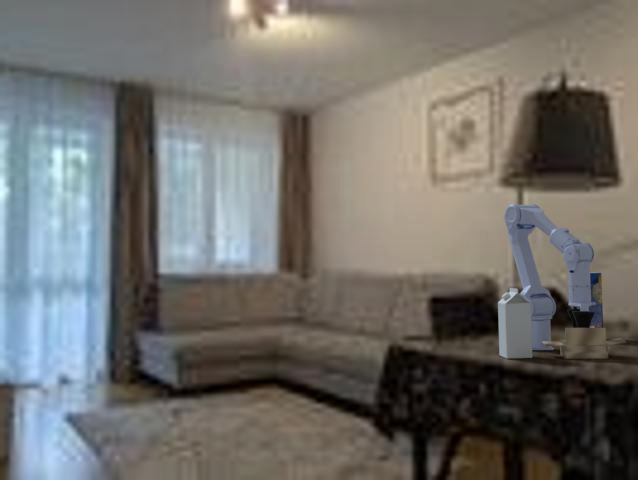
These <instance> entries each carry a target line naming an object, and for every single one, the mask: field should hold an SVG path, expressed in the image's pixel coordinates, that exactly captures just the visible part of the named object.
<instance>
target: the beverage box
mask: <svg viewBox="0 0 638 480" xmlns="http://www.w3.org/2000/svg"><path fill="white" fill-rule="evenodd" d="M602 277H603V276H602V272H594V271H593V272H591V271H590V285H591V286H590V287H591V302H595V303H596V305H591V306H589V311H588V312H595V314H594V316H593V318H592V320H591V323H590V328H604V315H603V314H604V313H603V285H602V281H603V280H602Z"/></svg>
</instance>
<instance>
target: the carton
mask: <svg viewBox="0 0 638 480" xmlns="http://www.w3.org/2000/svg"><path fill="white" fill-rule="evenodd" d="M542 343H543V344H544V345H545V346H552V347H560V348H559V349H560V350H559V351H560V356H561V358H563V359H564V360H609V347H608V346H609V345H607V344H606V345H566V338H564V339H561V338H560V339H558V341H557V340H556V341H552V340H551V341H542Z"/></svg>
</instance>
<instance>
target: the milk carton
mask: <svg viewBox="0 0 638 480" xmlns="http://www.w3.org/2000/svg"><path fill="white" fill-rule="evenodd" d="M497 309H498V310H497V312H498V345H499V347H498V349H499V350H498V351H499V356H501V357H503V358H504V359H509V360H510V359H533V350H532V325H531V303H530V302H529V301H528V300H526V299H525V298H524V297H523V296H522V295H520V292H519V289H518V288H514V287H509V292H508V291H507V292H504V293H503V295H501V299H500V300H499V301H498V302H497Z"/></svg>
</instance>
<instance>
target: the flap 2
mask: <svg viewBox="0 0 638 480" xmlns="http://www.w3.org/2000/svg"><path fill="white" fill-rule="evenodd" d="M621 344H627V341H626V340H625V339H622V338H620V337H619V338H612V339H606V345H607V346H612V345H621Z"/></svg>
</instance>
